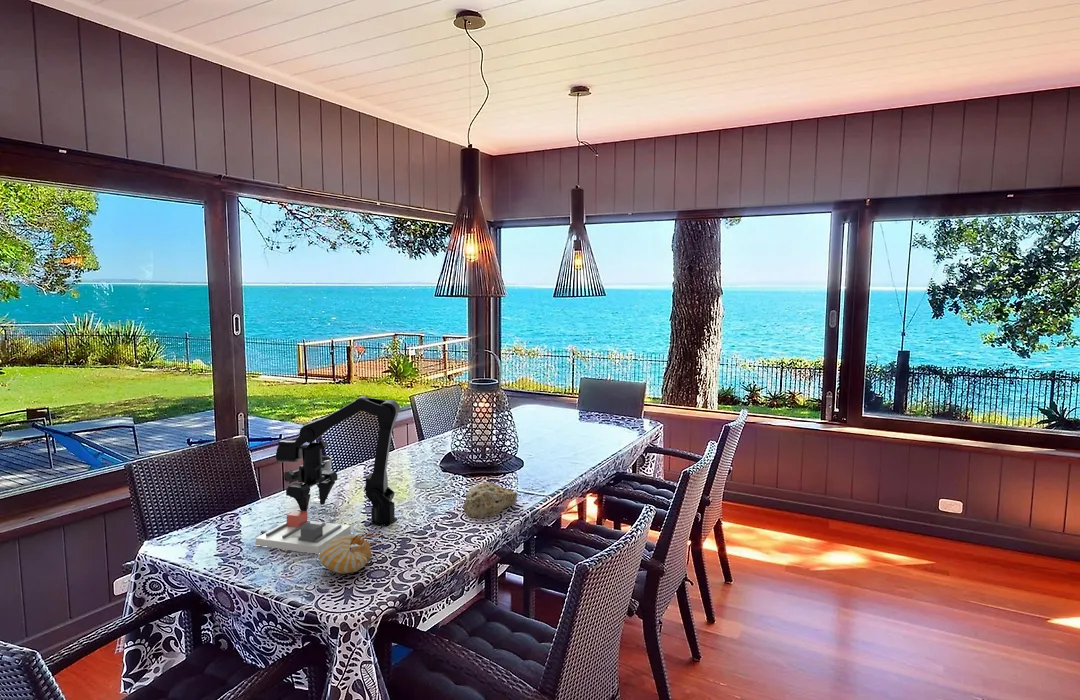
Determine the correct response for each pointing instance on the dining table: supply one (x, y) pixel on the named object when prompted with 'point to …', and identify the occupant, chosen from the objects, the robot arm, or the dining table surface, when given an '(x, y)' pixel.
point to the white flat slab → (292, 540)
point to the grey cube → (311, 532)
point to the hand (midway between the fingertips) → (313, 509)
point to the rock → (488, 500)
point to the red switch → (296, 518)
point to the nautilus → (347, 553)
